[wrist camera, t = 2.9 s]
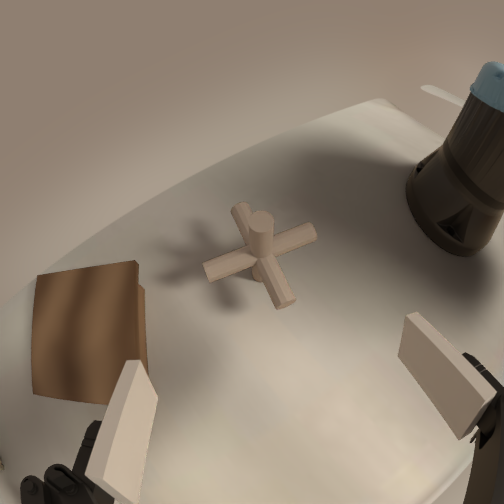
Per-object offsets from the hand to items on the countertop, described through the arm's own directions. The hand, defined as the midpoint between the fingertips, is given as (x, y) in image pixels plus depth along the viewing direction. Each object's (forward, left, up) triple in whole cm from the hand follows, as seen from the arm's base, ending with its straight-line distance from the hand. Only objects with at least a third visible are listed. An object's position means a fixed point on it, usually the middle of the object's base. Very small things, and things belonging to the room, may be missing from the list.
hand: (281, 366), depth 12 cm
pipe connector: (-1, -10, -13) cm, 17 cm away
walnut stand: (+17, -4, -13) cm, 22 cm away
